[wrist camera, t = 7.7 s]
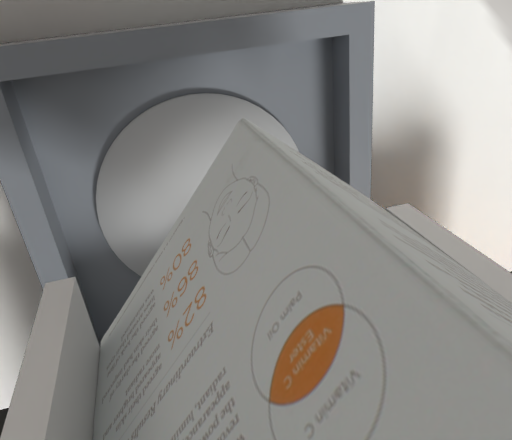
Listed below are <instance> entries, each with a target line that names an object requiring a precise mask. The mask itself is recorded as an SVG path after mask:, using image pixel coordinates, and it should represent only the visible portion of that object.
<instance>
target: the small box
mask: <svg viewBox="0 0 512 440" xmlns="http://www.w3.org/2000/svg"><path fill="white" fill-rule="evenodd" d="M93 440H512V303H511V302H510V301H509V300H507V299H506V298H505V297H503V296H502V295H500V294H499V293H498V292H496V291H495V290H494V289H492V288H491V287H490V286H488V285H487V284H485V283H484V282H483V281H481V280H480V279H479V278H477V277H476V276H475V275H473V274H472V273H470V272H469V271H468V270H466V269H465V268H464V267H462V266H461V265H459V264H458V263H457V262H455V261H454V260H453V259H451V258H450V257H448V256H447V255H446V254H444V253H443V252H442V251H440V250H439V249H438V248H436V247H435V246H433V245H432V244H431V243H429V242H428V241H427V240H425V239H424V238H423V237H421V236H420V235H418V234H417V233H416V232H414V231H413V230H412V229H410V228H409V227H408V226H406V225H405V224H404V223H402V222H401V221H399V220H398V219H397V218H395V217H394V216H393V215H391V214H390V213H389V212H387V211H386V210H385V209H383V208H382V207H380V206H379V205H378V204H376V203H375V202H373V201H372V200H371V199H369V198H368V197H366V196H365V195H363V194H362V193H360V192H359V191H357V190H356V189H354V188H353V187H352V186H350V185H348V184H347V183H345V182H344V181H342V180H341V179H339V178H338V177H336V176H335V175H333V174H332V173H330V172H329V171H327V170H326V169H324V168H322V167H321V166H319V165H318V164H316V163H315V162H313V161H312V160H310V159H309V158H307V157H305V156H304V155H302V154H301V153H299V152H298V151H296V150H294V149H293V148H291V147H290V146H288V145H287V144H285V143H283V142H282V141H280V140H279V139H277V138H275V137H274V136H272V135H271V134H269V133H267V132H266V131H264V130H263V129H261V128H260V127H258V126H257V125H255V124H254V123H252V122H250V121H249V120H247V119H244V118H242V119H240V120H239V121H238V122H237V124H236V126H235V128H234V129H233V131H232V133H231V134H230V136H229V138H228V139H227V141H226V142H225V144H224V146H223V147H222V149H221V151H220V152H219V154H218V156H217V157H216V159H215V160H214V162H213V163H212V165H211V166H210V168H209V170H208V171H207V173H206V175H205V176H204V178H203V180H202V181H201V183H200V184H199V186H198V187H197V189H196V190H195V192H194V194H193V195H192V197H191V199H190V200H189V202H188V203H187V205H186V207H185V208H184V210H183V211H182V213H181V214H180V216H179V218H178V219H177V221H176V222H175V224H174V226H173V227H172V229H171V230H170V232H169V234H168V235H167V237H166V238H165V240H164V242H163V243H162V245H161V246H160V248H159V249H158V251H157V253H156V254H155V256H154V257H153V259H152V260H151V262H150V264H149V265H148V267H147V268H146V270H145V272H144V273H143V275H142V277H141V278H140V280H139V281H138V283H137V285H136V286H135V288H134V290H133V291H132V293H131V294H130V296H129V298H128V299H127V301H126V302H125V304H124V305H123V307H122V309H121V310H120V312H119V313H118V315H117V317H116V318H115V320H114V321H113V323H112V324H111V326H110V327H109V329H108V330H107V332H106V333H105V335H104V336H103V338H102V340H101V345H100V355H99V367H98V380H97V389H96V402H95V414H94V427H93Z"/></svg>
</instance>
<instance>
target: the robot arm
mask: <svg viewBox="0 0 512 440" xmlns="http://www.w3.org/2000/svg"><path fill="white" fill-rule="evenodd" d="M386 211H387V212H389V213H390V214H391V215H393V216H394V217H395V218H397V219H398V220H399V221H401V222H402V223H404V224H405V225H406V226H408V227H409V228H410V229H412V230H413V231H414V232H416V233H417V234H418V235H420V236H421V237H423V238H424V239H425V240H427V241H428V242H429V243H431V244H432V245H433V246H435V247H436V248H438V249H439V250H440V251H442V252H443V253H444V254H446V255H447V256H448V257H450V258H451V259H453V260H454V261H455V262H457V263H458V264H459V265H461V266H462V267H464V268H465V269H466V270H468V271H469V272H470V273H472V274H473V275H475V276H476V277H477V278H479V279H480V280H481V281H483V282H484V283H485V284H487V285H488V286H490V287H491V288H492V289H494V290H495V291H496V292H498V293H499V294H500V295H502V296H503V297H505V298H506V299H507V300H509V301H510V302H511V303H512V272H509V271H507V270H506V269H504V268H503V267H501V266H500V265H498V264H497V263H496V262H494V261H493V260H491V259H490V258H488V257H487V256H485V255H484V254H482V253H481V252H479V251H478V250H476V249H475V248H473V247H472V246H471V245H469V244H468V243H466V242H465V241H463V240H462V239H460V238H459V237H457V236H456V235H454V234H453V233H451V232H450V231H448V230H447V229H446V228H444V227H443V226H441V225H440V224H438V223H437V222H435V221H434V220H432V219H431V218H429V217H428V216H426V215H425V214H423V213H422V212H421V211H419V210H418V209H416V208H415V207H413V206H412V205H410V204H409V203H406V204H402V205H397V206H393V207H388V208H386ZM99 355H100V346H99V343H98V341H97V338H96V335H95V332H94V329H93V326H92V323H91V320H90V318H89V315H88V312H87V309H86V306H85V303H84V300H83V297H82V295H81V292H80V289H79V286H78V283H77V280H76V277H71V278H67V279H62V280H58V281H53V282H49V283H45V286H44V290H43V293H42V297H41V300H40V303H39V307H38V310H37V314H36V317H35V321H34V324H33V327H32V331H31V334H30V338H29V341H28V344H27V348H26V351H25V355H24V358H23V362H22V365H21V368H20V372H19V375H18V379H17V382H16V386H15V389H14V392H13V396H12V399H11V403H10V406H9V408H6V409H3V410H0V440H93V427H94V414H95V402H96V389H97V380H98V367H99Z"/></svg>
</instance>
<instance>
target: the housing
mask: <svg viewBox="0 0 512 440" xmlns="http://www.w3.org/2000/svg"><path fill="white" fill-rule="evenodd" d="M374 7H375V1H370V2H351V3H339V4H330V5H322V6H313V7H305V8H297V9H288V10H280V11H272V12H263V13H255V14H246V15H238V16H230V17H221V18H213V19H205V20H196V21H188V22H179V23H171V24H163V25H154V26H146V27H137V28H129V29H121V30H112V31H104V32H96V33H87V34H79V35H70V36H62V37H54V38H45V39H37V40H29V41H20V42H12V43H3V44H0V181H1V184H2V186H3V189H4V191H5V194H6V196H7V199H8V202H9V204H10V207H11V209H12V212H13V214H14V217H15V219H16V222H17V224H18V227H19V230H20V232H21V235H22V237H23V240H24V242H25V245H26V247H27V250H28V252H29V255H30V258H31V260H32V263H33V265H34V268H35V270H36V273H37V275H38V278H39V280H40V283H41V286H42V288H43V290H44V286H45V283H49V282H53V281H58V280H62V279H67V278H71V277H76V280H77V283H78V286H79V289H80V292H81V295H82V297H83V300H84V303H85V306H86V309H87V312H88V315H89V318H90V320H91V323H92V326H93V329H94V332H95V335H96V338H97V341H98V343H99V346H100V345H101V340H102V338H103V336H104V335H105V333H106V332H107V330H108V329H109V327H110V326H111V324H112V323H113V321H114V320H115V318H116V317H117V315H118V313H119V312H120V310H121V309H122V307H123V305H124V304H125V302H126V301H127V299H128V298H129V296H130V294H131V293H132V291H133V290H134V288H135V286H136V285H137V283H138V281H139V280H140V278H141V277H142V275H143V273H144V272H145V270H146V268H147V267H148V265H149V264H150V262H151V260H152V259H153V257H154V256H155V254H156V253H157V251H158V249H159V248H160V246H161V245H162V243H163V242H164V240H165V238H166V237H167V235H168V234H169V232H170V230H171V229H172V227H173V226H174V224H175V222H176V221H177V219H178V218H179V216H180V214H181V213H182V211H183V210H184V208H185V207H186V205H187V203H188V202H189V200H190V199H191V197H192V195H193V194H194V192H195V190H196V189H197V187H198V186H199V184H200V183H201V181H202V180H203V178H204V176H205V175H206V173H207V171H208V170H209V168H210V166H211V165H212V163H213V162H214V160H215V159H216V157H217V156H218V154H219V152H220V151H221V149H222V147H223V146H224V144H225V142H226V141H227V139H228V138H229V136H230V134H231V133H232V131H233V129H234V128H235V126H236V124H237V122H238V121H239V120H240V119H242V118H244V119H247V120H249V121H250V122H252V123H254V124H255V125H257V126H258V127H260V128H261V129H263V130H264V131H266V132H267V133H269V134H271V135H272V136H274V137H275V138H277V139H279V140H280V141H282V142H283V143H285V144H287V145H288V146H290V147H291V148H293V149H294V150H296V151H298V152H299V153H301V154H302V155H304V156H305V157H307V158H309V159H310V160H312V161H313V162H315V163H316V164H318V165H319V166H321V167H322V168H324V169H326V170H327V171H329V172H330V173H332V174H333V175H335V176H336V177H338V178H339V179H341V180H342V181H344V182H345V183H347V184H348V185H350V186H352V187H353V188H354V189H356V190H357V191H359V192H360V193H362V194H363V195H365V196H366V197H368V198H369V199H371V156H372V107H373V57H374Z"/></svg>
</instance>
